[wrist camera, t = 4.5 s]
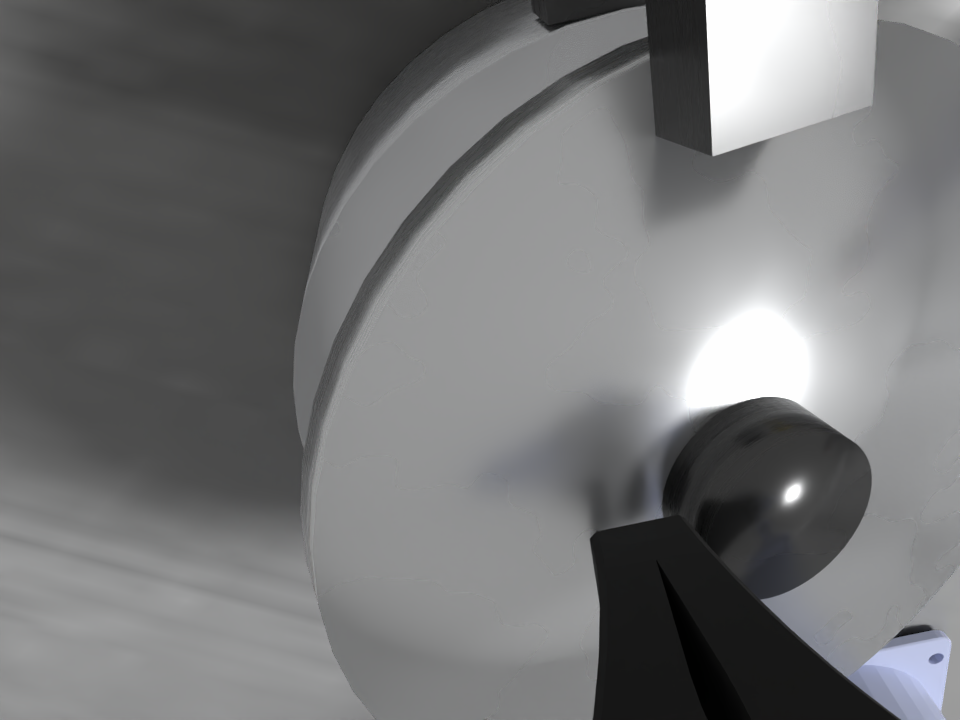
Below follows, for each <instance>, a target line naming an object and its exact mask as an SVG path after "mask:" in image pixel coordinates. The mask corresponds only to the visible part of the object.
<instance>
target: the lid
mask: <svg viewBox="0 0 960 720" xmlns="http://www.w3.org/2000/svg"><path fill="white" fill-rule="evenodd" d="M645 4H646V17H647V30H648V36H647V37H644V38H642V39H639V40H636V41H633V42H631V43H628V44H625V45H622V46H620V47H618V48H616V49H614V50H612V51H611V52H609V53H607V54H605V55H603V56H601V57H599V58H597V59H595V60H593V61H592V62H590V63H588V64H586V65H584V66H582V67H580V68H578V69H576V70H574V71H572V72H571V73H569V74H567V75H565V76H563V77H561V78H560V79H558V80H557V81H555V82H554V83H553V84H551V85H550V86H548V87H547V88H545V89H544V90H543V91H541V92H540V93H538V94H537V95H535V96H534V97H533V98H531V99H530V100H528V101H527V102H526V103H524V104H523V105H521V106H520V107H518V108H517V109H516V110H514V111H513V112H511V113H510V114H509V115H507V116H506V117H504V118H503V119H502V120H501V121H500V122H499V123H497V124H496V125H495V126H494V127H493V128H492V129H491V130H490V131H489V132H488V133H486V134H485V135H484V136H483V137H482V138H481V139H480V140H479V141H478V142H477V143H475V144H474V145H473V146H472V147H471V148H470V149H469V150H468V151H467V152H466V153H464V154H463V155H462V156H461V157H460V158H459V159H458V160H457V161H456V162H455V163H453V164H452V165H451V166H450V167H449V168H448V170H447V171H446V172H445V173H444V174H443V175H442V177H441V178H440V179H439V180H438V181H437V182H436V183H435V185H434V186H433V187H432V188H431V189H430V190H429V192H428V193H427V194H426V195H425V196H424V197H423V199H422V200H421V201H420V202H419V203H418V204H417V206H416V207H415V208H414V209H413V210H412V211H411V213H410V214H409V215H408V216H407V217H406V218H405V220H404V221H403V222H402V224H401V225H400V227H399V228H398V230H397V231H396V233H395V234H394V236H393V237H392V239H391V240H390V242H389V243H388V245H387V246H386V248H385V249H384V251H383V252H382V254H381V255H380V257H379V258H378V260H377V261H376V263H375V264H374V266H373V267H372V269H371V270H370V272H369V273H368V275H367V276H366V278H365V279H364V281H363V283H362V285H361V287H360V289H359V291H358V293H357V295H356V297H355V299H354V301H353V303H352V305H351V307H350V309H349V311H348V313H347V315H346V317H345V319H344V321H343V323H342V325H341V327H340V329H339V331H338V333H337V335H336V337H335V339H334V342H333V345H332V348H331V351H330V354H329V357H328V359H327V362H326V365H325V368H324V371H323V374H322V377H321V380H320V383H319V386H318V389H317V392H316V395H315V398H314V401H313V406H312V411H311V416H310V422H309V427H308V432H307V437H306V442H305V448H304V453H303V458H302V483H301V508H300V514H301V522H302V530H303V538H304V546H305V555H306V562H307V566H308V569H309V573H310V577H311V580H312V584H313V588H314V591H315V595H316V598H317V602H318V606H319V609H320V612H321V616H322V619H323V622H324V625H325V629H326V632H327V635H328V639H329V642H330V645H331V648H332V652H333V654H334V656H335V658H336V660H337V661H338V663H339V665H340V667H341V669H342V671H343V673H344V675H345V677H346V679H347V680H348V682H349V684H350V686H351V688H352V690H353V692H354V693H355V694H356V695H357V697H358V698H359V699H360V700H361V702H362V703H363V704H364V705H365V707H366V708H367V709H368V710H369V711H370V713H371V714H372V715H373V716H374V718H375V719H376V720H593V713H594V703H595V692H596V681H597V670H598V658H599V616H600V606H599V597H598V591H597V584H596V578H595V571H594V565H593V558H592V552H591V545H590V538H591V537H592V536H593V535H594V533H595V532H596V531H601V530H606V529H610V528H615V527H620V526H625V525H630V524H635V523H640V522H644V521H649V520H654V519H659V518H664V517H669V516H674V515H681V516H682V517H684V518H685V519H687V520H688V522H689V523H690V524H691V525H692V527H693V528H694V529H695V530H696V531H697V533H698V534H699V535H700V536H701V537H702V539H703V540H704V541H705V542H706V543H707V544H708V545H709V547H710V548H711V549H712V550H713V551H714V552H715V553H716V554H717V556H718V557H719V558H720V559H721V560H722V561H723V562H724V563H725V564H726V565H727V566H728V567H729V569H730V570H731V571H732V572H733V573H734V574H735V575H736V576H737V577H738V578H739V579H740V580H741V581H742V582H743V583H744V584H745V585H746V586H747V587H748V588H749V589H750V590H751V591H752V592H753V593H754V594H755V595H756V596H757V597H758V598H759V599H760V600H761V601H762V602H763V603H764V604H765V605H766V606H767V607H768V608H769V609H770V610H771V611H772V612H773V613H774V614H775V615H777V616H778V617H779V618H780V619H781V620H782V621H783V622H784V623H785V624H786V625H787V626H788V627H789V628H790V629H791V630H792V631H794V632H795V633H796V634H797V635H798V636H799V637H800V638H801V639H802V640H803V641H805V642H806V643H807V644H808V645H809V646H810V647H811V648H813V649H814V650H815V651H816V652H817V653H818V654H819V655H821V656H822V657H823V658H824V659H825V660H826V661H828V662H829V663H830V664H831V665H832V666H833V667H835V668H836V669H837V670H838V671H839V672H841V673H842V674H843V675H844V676H845V677H849V676H850V675H851V674H853V673H854V672H855V671H857V670H858V669H859V668H860V667H861V666H862V665H864V664H865V663H866V662H867V661H868V660H869V659H870V658H872V657H873V656H874V655H875V654H876V653H877V652H878V651H880V650H881V649H882V648H883V647H884V646H885V645H886V644H888V643H889V642H890V641H891V640H892V639H893V638H894V637H895V636H896V635H897V634H898V633H899V632H900V631H901V630H902V629H903V628H904V627H905V626H906V625H907V624H908V623H909V622H910V621H911V620H912V619H913V618H914V617H915V616H916V615H917V614H918V613H919V612H920V611H921V610H922V609H923V608H924V606H925V605H926V604H927V603H928V602H929V601H930V600H931V598H932V597H933V596H934V595H935V594H936V593H937V592H938V590H939V589H940V588H941V587H942V586H943V585H944V583H945V582H946V581H947V580H948V579H949V578H950V577H951V575H952V574H953V573H954V571H955V570H956V569H957V567H958V566H959V565H960V46H958V45H957V44H955V43H954V42H952V41H950V40H948V39H945V38H942V37H940V36H937V35H934V34H931V33H929V32H926V31H923V30H920V29H918V28H915V27H912V26H909V25H907V24H904V23H897V22H891V21H884V20H877V17H878V0H645Z"/></svg>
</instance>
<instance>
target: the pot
mask: <svg viewBox="0 0 960 720" xmlns="http://www.w3.org/2000/svg"><path fill="white" fill-rule="evenodd" d="M647 36H648V30H647V17H646V4H645V0H505V1H503V2H501V3H498V4H496V5H494V6H492V7H489V8H487V9H485V10H483V11H481V12H479V13H478V14H476V15H474V16H473V17H471V18H470V19H468V20H466V21H465V22H463V23H462V24H460V25H458V26H457V27H455V28H453V29H452V30H450V31H449V32H447V33H445V34H444V35H442V36H441V37H440V38H439V39H438V40H436V41H435V42H434V43H433V44H432V45H430V46H429V47H428V48H427V49H426V50H424V51H423V52H422V53H421V54H420V55H418V56H417V57H416V58H415V59H413V60H412V61H411V62H410V63H409V64H408V65H407V66H406V67H405V68H404V69H403V70H402V71H401V72H400V74H399V75H398V76H397V77H396V78H395V79H394V80H393V81H392V82H391V83H390V84H389V85H388V87H387V88H386V89H385V90H384V91H383V92H382V93H381V94H380V95H379V97H378V98H377V100H376V101H375V102H374V104H373V105H372V107H371V108H370V110H369V111H368V112H367V114H366V115H365V117H364V118H363V120H362V121H361V122H360V124H359V125H358V127H357V128H356V130H355V131H354V133H353V135H352V137H351V139H350V141H349V143H348V145H347V147H346V149H345V151H344V153H343V155H342V157H341V159H340V161H339V163H338V165H337V167H336V170H335V173H334V175H333V178H332V181H331V184H330V187H329V190H328V193H327V196H326V199H325V202H324V205H323V210H322V214H321V219H320V223H319V228H318V233H317V237H316V242H315V247H314V251H313V256H312V261H311V265H310V270H309V275H308V279H307V284H306V289H305V293H304V298H303V303H302V308H301V314H300V319H299V324H298V329H297V334H296V339H295V348H294V374H293V392H294V400H295V409H296V417H297V425H298V431H299V435H300V438H301V442H302V445H303V449H304V448H305V442H306V437H307V432H308V427H309V422H310V416H311V411H312V406H313V401H314V398H315V395H316V392H317V389H318V386H319V383H320V380H321V377H322V374H323V371H324V368H325V365H326V362H327V359H328V357H329V354H330V351H331V348H332V345H333V342H334V339H335V337H336V335H337V333H338V331H339V329H340V327H341V325H342V323H343V321H344V319H345V317H346V315H347V313H348V311H349V309H350V307H351V305H352V303H353V301H354V299H355V297H356V295H357V293H358V291H359V289H360V287H361V285H362V283H363V281H364V279H365V278H366V276H367V275H368V273H369V272H370V270H371V269H372V267H373V266H374V264H375V263H376V261H377V260H378V258H379V257H380V255H381V254H382V252H383V251H384V249H385V248H386V246H387V245H388V243H389V242H390V240H391V239H392V237H393V236H394V234H395V233H396V231H397V230H398V228H399V227H400V225H401V224H402V222H403V221H404V220H405V218H406V217H407V216H408V215H409V214H410V213H411V211H412V210H413V209H414V208H415V207H416V206H417V204H418V203H419V202H420V201H421V200H422V199H423V197H424V196H425V195H426V194H427V193H428V192H429V190H430V189H431V188H432V187H433V186H434V185H435V183H436V182H437V181H438V180H439V179H440V178H441V177H442V175H443V174H444V173H445V172H446V171H447V170H448V168H449V167H450V166H451V165H452V164H453V163H455V162H456V161H457V160H458V159H459V158H460V157H461V156H462V155H463V154H464V153H466V152H467V151H468V150H469V149H470V148H471V147H472V146H473V145H474V144H475V143H477V142H478V141H479V140H480V139H481V138H482V137H483V136H484V135H485V134H486V133H488V132H489V131H490V130H491V129H492V128H493V127H494V126H495V125H496V124H497V123H499V122H500V121H501V120H502V119H503V118H504V117H506V116H507V115H509V114H510V113H511V112H513V111H514V110H516V109H517V108H518V107H520V106H521V105H523V104H524V103H526V102H527V101H528V100H530V99H531V98H533V97H534V96H535V95H537V94H538V93H540V92H541V91H543V90H544V89H545V88H547V87H548V86H550V85H551V84H553V83H554V82H555V81H557V80H558V79H560V78H561V77H563V76H565V75H567V74H569V73H571V72H572V71H574V70H576V69H578V68H580V67H582V66H584V65H586V64H588V63H590V62H592V61H593V60H595V59H597V58H599V57H601V56H603V55H605V54H607V53H609V52H611V51H612V50H614V49H616V48H618V47H620V46H622V45H625V44H628V43H631V42H633V41H636V40H639V39H642V38H644V37H647Z"/></svg>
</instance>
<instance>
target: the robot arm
mask: <svg viewBox="0 0 960 720" xmlns="http://www.w3.org/2000/svg"><path fill="white" fill-rule="evenodd" d="M590 545H591V552H592V558H593V565H594V571H595V578H596V584H597V591H598V597H599V606H600V616H599V658H598V670H597V681H596V692H595V703H594V713H593V720H946V719H945V717H944V716H943V714H942V713H941V708H942V702H943V695H944V689H945V683H946V676H947V670H948V663H949V657H950V650H951V641H950V639H949V638H948V637H947V635H946V634H945V633H944V632H943V631H940V630H931V631H926V632H921V633H917V634H912V635H907V636H902V637H897V638H893V639H892V640H891V641H890V642H889V643H888V644H886V645H885V646H884V647H883V648H882V649H881V650H880V651H878V652H877V653H876V654H875V655H874V656H873V657H872V658H870V659H869V660H868V661H867V662H866V663H865V664H864V665H862V666H861V667H860V668H859V669H858V670H857V671H855V672H854V673H853V674H851V675H850V676H849V677H845V676H844V675H843V674H842V673H841V672H839V671H838V670H837V669H836V668H835V667H833V666H832V665H831V664H830V663H829V662H828V661H826V660H825V659H824V658H823V657H822V656H821V655H819V654H818V653H817V652H816V651H815V650H814V649H813V648H811V647H810V646H809V645H808V644H807V643H806V642H805V641H803V640H802V639H801V638H800V637H799V636H798V635H797V634H796V633H795V632H794V631H792V630H791V629H790V628H789V627H788V626H787V625H786V624H785V623H784V622H783V621H782V620H781V619H780V618H779V617H778V616H777V615H775V614H774V613H773V612H772V611H771V610H770V609H769V608H768V607H767V606H766V605H765V604H764V603H763V602H762V601H761V600H760V599H759V598H758V597H757V596H756V595H755V594H754V593H753V592H752V591H751V590H750V589H749V588H748V587H747V586H746V585H745V584H744V583H743V582H742V581H741V580H740V579H739V578H738V577H737V576H736V575H735V574H734V573H733V572H732V571H731V570H730V569H729V567H728V566H727V565H726V564H725V563H724V562H723V561H722V560H721V559H720V558H719V557H718V556H717V554H716V553H715V552H714V551H713V550H712V549H711V548H710V547H709V545H708V544H707V543H706V542H705V541H704V540H703V539H702V537H701V536H700V535H699V534H698V533H697V531H696V530H695V529H694V528H693V527H692V525H691V524H690V523H689V522H688V520H687V519H685V518H684V517H682V516H681V515H674V516H669V517H664V518H659V519H654V520H649V521H644V522H640V523H635V524H630V525H625V526H620V527H615V528H610V529H606V530H601V531H596V532H595V533H594V535H593V536H592V537H591V538H590Z"/></svg>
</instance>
